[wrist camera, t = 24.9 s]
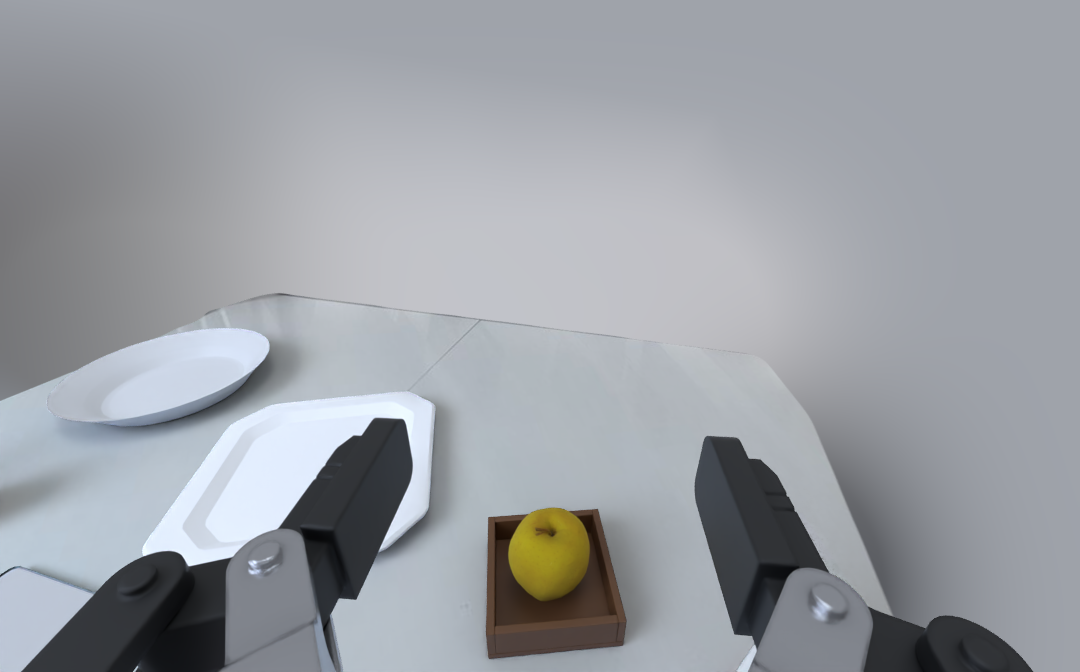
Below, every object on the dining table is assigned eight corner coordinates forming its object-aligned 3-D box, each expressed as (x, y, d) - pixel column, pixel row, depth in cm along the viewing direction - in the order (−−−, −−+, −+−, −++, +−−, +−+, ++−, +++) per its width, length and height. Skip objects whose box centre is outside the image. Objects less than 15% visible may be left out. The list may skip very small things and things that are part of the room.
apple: (501, 612, 35) (496, 546, 31) (522, 543, 40) (520, 480, 37) (581, 632, 33) (586, 564, 30) (591, 558, 39) (596, 493, 35)
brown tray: (595, 531, 42) (597, 508, 41) (623, 645, 33) (626, 621, 32) (490, 539, 41) (488, 516, 40) (488, 659, 32) (486, 635, 31)
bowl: (311, 362, 71) (306, 342, 69) (140, 466, 50) (126, 442, 48) (204, 337, 79) (197, 319, 77) (17, 418, 58) (2, 396, 56)
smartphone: (14, 564, 38) (142, 609, 35) (18, 568, 39) (145, 613, 35) (-107, 647, 32) (33, 712, 29) (-102, 651, 33) (37, 715, 29)
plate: (246, 419, 58) (241, 405, 57) (437, 399, 61) (436, 386, 60) (121, 605, 36) (109, 588, 35) (428, 557, 40) (425, 541, 39)
